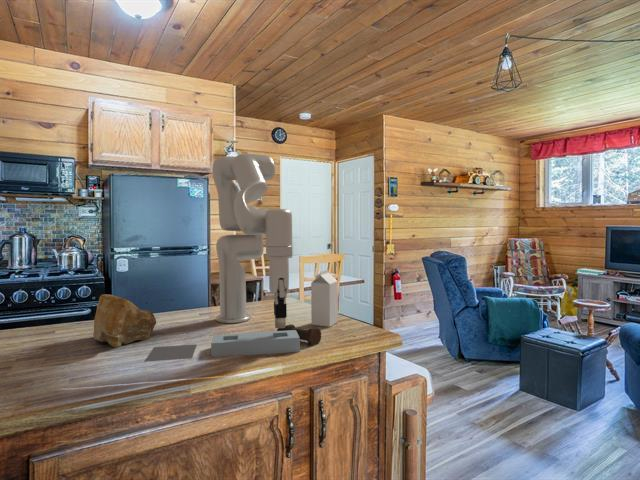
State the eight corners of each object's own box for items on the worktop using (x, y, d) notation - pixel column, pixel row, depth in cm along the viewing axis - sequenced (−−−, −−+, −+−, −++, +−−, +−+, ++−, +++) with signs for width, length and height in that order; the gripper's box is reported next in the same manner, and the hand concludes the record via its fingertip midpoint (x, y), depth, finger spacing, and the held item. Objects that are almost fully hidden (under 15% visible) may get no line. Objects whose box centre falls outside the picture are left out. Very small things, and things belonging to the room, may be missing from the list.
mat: (154, 348, 116) (154, 347, 116) (197, 345, 119) (196, 344, 119) (144, 362, 105) (144, 361, 105) (192, 359, 107) (192, 357, 107)
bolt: (281, 341, 129) (318, 348, 119) (271, 336, 125) (308, 344, 116) (287, 324, 131) (323, 329, 121) (277, 319, 127) (314, 324, 118)
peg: (274, 325, 116) (274, 291, 116) (285, 325, 117) (284, 291, 116) (275, 328, 113) (274, 293, 113) (286, 327, 114) (285, 293, 113)
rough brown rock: (163, 348, 119) (166, 297, 120) (100, 354, 110) (103, 299, 110) (145, 333, 138) (147, 289, 139) (90, 337, 128) (93, 291, 129)
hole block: (211, 358, 108) (211, 343, 108) (213, 348, 116) (213, 335, 115) (299, 351, 112) (299, 337, 112) (295, 343, 120) (295, 329, 120)
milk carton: (337, 322, 144) (337, 270, 143) (329, 327, 138) (329, 272, 137) (319, 320, 147) (319, 269, 146) (311, 325, 141) (310, 271, 140)
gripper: (264, 250, 121) (265, 311, 122) (267, 255, 105) (269, 324, 106) (289, 250, 123) (289, 309, 124) (296, 254, 107) (297, 322, 108)
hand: (280, 315), depth 115 cm, fingers closed on peg, 3 cm apart
